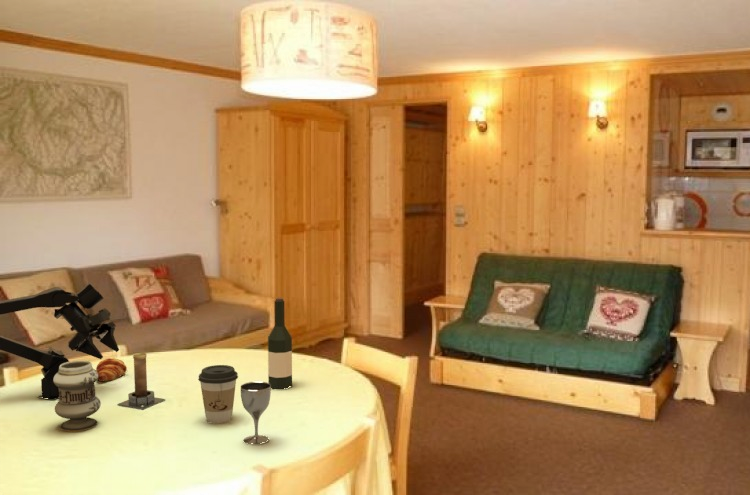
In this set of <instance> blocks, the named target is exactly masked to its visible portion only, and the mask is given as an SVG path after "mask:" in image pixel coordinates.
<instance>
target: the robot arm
mask: <svg viewBox="0 0 750 495" xmlns="http://www.w3.org/2000/svg"><path fill="white" fill-rule="evenodd" d="M104 299H105V298H104V297H103V295H102V294H101V293H100V292H99V290H96V288H95V287H94V286H93V285H92V284H91V283H89V282H88V283H87V284H86V285H85V286H84V287H83V288H82V289H80V290H79V291H78V292H76V293H74V292H69V291H66V290H65V289H64V288H62V287H61V286H53V287H49V288H47V289H45V290H43V291H39V292H38V293H35V294H31V295H27V296H19V297H16V298H10V299H4V300H0V315H5V314H11V313H15V312H20V311H25V310H31V309H36V308H50V309H51V308H55V309H54V315H53V317H54V318H55V319H56V320H57V319H60V317H62V318H63V319H64V320H65V321H66V323H67V324H68V325H70V326H71V327H70V328H69V329H70V331H72V332H73V331H75V332H76V334H74V335H73V337H71V339H70V340H69V341H68V344H67V347H68V348H69V349H70V350H71V352H73V351H76V352H80V353H83V354H85V355H87V356H88V355H89V356H90V357H91V356H92V357H93V358H96V359H98V360H102V359H103V358H104V356H103V354H102V352H101V351H100V350H99V349H98V347H97V346H96V345H95V344H94V339H93V338H96V339H98V340H99V342H100V343H101V344H103V345H104V346H106V347H108V348H110V350H112V351H114V352H116V353H118V352H119V351H120V348H119V346H118V344H117V341H116V338H115V336H114V332H115V330H116V327H117V326H116V324H115V323H114V322H113V321H110V320H111V312H110V311H109V310H108V309H106V308H102V309H101V310H98V313H96V314H94V315H93V314H91V313H89V314H86V312H85V311H84V310H91V309H93V308H94V307H96V306H97V304H99V303H100V302H101V301H102V300H104ZM78 304H79V305H80V306H79V305H78ZM81 307H82V308H81ZM0 350H1V351H3V352H5V353H9V354H11V355H14V356H18V357H20V358H23V359H26V360H29V361H32V362H35V363H37V364H38V365H40V366H41V369H40V372H41V374H42V375H43V377H42V378H41V380H40V382H41V394H39V395H38V398H39V397H43V398H42V399H44V398H48V399H47V400H49V399H54V400H56V399H55V398H57V399H59V389H58V386H56V385H55V384H54V381H53V379H54V376H55V375H56V374H57V373H58V371H59V366H60V365H61V364H63V363H66V362H70V360H69V359H68V357H67V356H66V354H65V353H64V352H63V351H62V350H57V349H54V348H53V347H51V346H49V349H48V350H44V349H43V350H42V349H39V348H37V347H34V346H31V345H29V344H25V343H22V342H20V341H18V340H15V339H12V338H9V337H6V336H3V335H1V334H0Z"/></svg>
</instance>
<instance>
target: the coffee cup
mask: <svg viewBox="0 0 750 495" xmlns="http://www.w3.org/2000/svg"><path fill="white" fill-rule="evenodd" d="M238 378H239V375H238V372H237V371H236V370H235V368H234V366H232V365H228V364H215V365H208V366H206V367H203V368H202V369H201V373H199V375H198V381H199V384H200V388H201V395H202V402H203V409H204V416H205V418H206V421H207V422H208V423H210V424H214V425H215V424H217V425H218V424H226V423H228V422H230V421H232V417H233V411H234V403H235V402H234V401H235V393H236V392H235V391H236V386H237V385H236V384H237V379H238Z"/></svg>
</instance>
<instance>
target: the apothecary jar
mask: <svg viewBox="0 0 750 495" xmlns="http://www.w3.org/2000/svg"><path fill="white" fill-rule="evenodd" d="M98 377H99V374H98V372H97V371H96V368H93V364H92V361H90V360H71V361H69V362H66V363H63V364H61V365H60V366H59V371H58V373H57V374H56V375H55V376H54V379H53V381H54V384H55V385H56V386H58V389H59V398H58V401H57V403H55V406H54V412H55V414H56V415H57V416H58V417H61V418H62V419H66V420H65V421H63V422H62V423H61V424H60V427H59V428H60V430H61V431H63V432H68V433H69V432H70V433H71V432H72V433H73V432H75V433H76V432H77V433H78V432H82V431H86V430H87V431H88V430H90V429H92V428H94V427H95V426H97V425H98V421H97V419H95V418H92V417H90V416H92V415H93V414H96V412H98V411H99V410H100V408H101V404H102V402H101V400H100V399H99V398H98V397H97V396H96V387H95V383H96V382H97V381H98Z"/></svg>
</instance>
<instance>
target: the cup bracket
mask: <svg viewBox="0 0 750 495" xmlns="http://www.w3.org/2000/svg"><path fill="white" fill-rule="evenodd" d="M127 397H128V399H127V400H124V401H122V402H119V403H117V406H119V407H123V408H124V407H125V408H130V409H134V410H135V409H137V410H141V411H144V410H146V409H148V408H151V407H153V406H155V405H157V404H159V403H160V404H161V403H163V402H164V401H166V399H165V398H159V397H156V396H155V391H153V390H148V389H147V396H144V397H135V391H132V392H130V393H128V396H127Z"/></svg>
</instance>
